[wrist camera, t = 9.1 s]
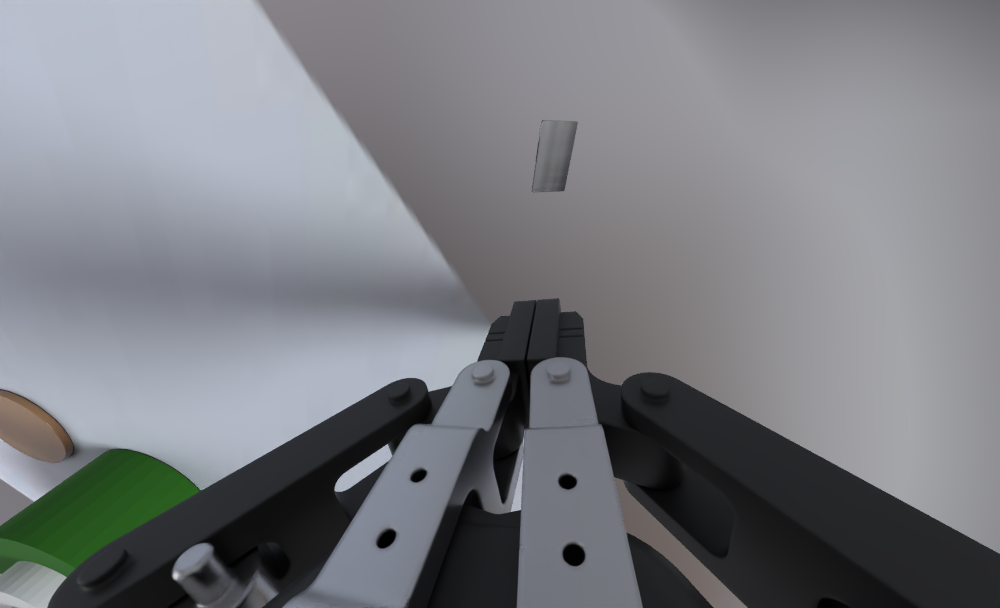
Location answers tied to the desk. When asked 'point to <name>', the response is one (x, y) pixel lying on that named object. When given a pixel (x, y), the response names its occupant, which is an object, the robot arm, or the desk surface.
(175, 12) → the desk surface
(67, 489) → the candle
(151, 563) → the robot arm
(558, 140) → the build plate
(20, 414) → the coaster
